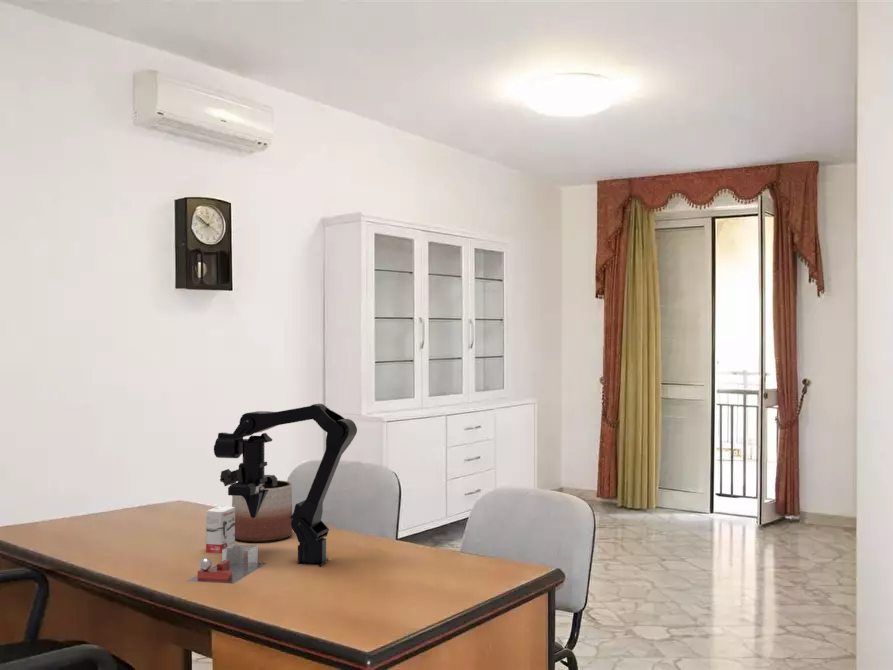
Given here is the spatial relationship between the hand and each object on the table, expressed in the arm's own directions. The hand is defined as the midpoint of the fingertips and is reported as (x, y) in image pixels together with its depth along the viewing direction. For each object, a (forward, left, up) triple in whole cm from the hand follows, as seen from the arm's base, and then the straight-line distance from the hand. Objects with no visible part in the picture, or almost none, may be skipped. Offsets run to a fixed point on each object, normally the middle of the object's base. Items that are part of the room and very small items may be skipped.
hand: (253, 517), depth 227 cm
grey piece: (0, +15, -11) cm, 18 cm away
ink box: (+13, -8, -11) cm, 19 cm away
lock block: (0, +8, -11) cm, 13 cm away
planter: (+9, -27, -12) cm, 30 cm away
